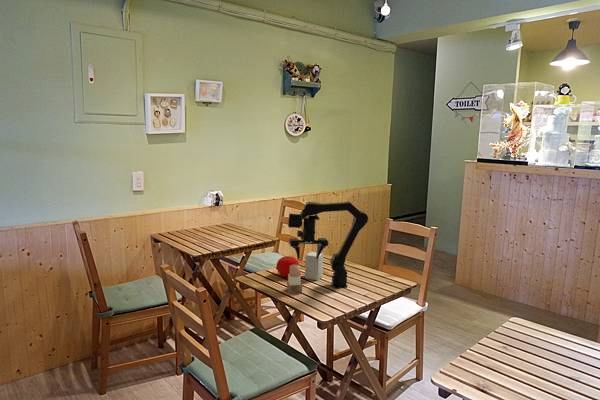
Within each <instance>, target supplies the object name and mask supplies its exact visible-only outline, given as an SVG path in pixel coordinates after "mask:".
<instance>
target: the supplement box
mask: <svg viewBox="0 0 600 400" xmlns="http://www.w3.org/2000/svg"><path fill="white" fill-rule="evenodd" d="M316 254H317V251H316V252H315V251H310V252H307V254H305V263H304V264H305V265H304V272H305V273H304V278H305V279H308V280H314V281H318V280H320V279H321V278H323V270H324V253H322V252H321V253H320V255H319V257H318V259H316Z"/></svg>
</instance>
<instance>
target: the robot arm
mask: <svg viewBox="0 0 600 400" xmlns="http://www.w3.org/2000/svg"><path fill="white" fill-rule="evenodd" d="M344 211H348V213H350V214H351V215H352V216H353V218H352V222H351V228H350V229H349V231H348V233H347V235H346V237H345V239H344V241H343V242H342V245H341V246H340V248H339V250H338V252H336V253H335V252H333V254H332V256H331V258H329V260H330V261H329V265H330V268H331V270H332V271H333V273H332V275H331V285H332V286H333V287H334V288H340V289H341V288H348V285H347V284H348V283H347V282H348V281H347V280H348V270H347V269H346V267H345V264H346V258H347V256H348V253H349V252H350V250H351V248H352V246H353V243H354V242H355V240H356V238H357V237H358V235H359V232H360V231H361V230H362V229H363V228H364V227H365V226H366V224H367V223H368V221H369V216H368V214H366V212H365V211H363V210H359V209H358V208H357V207H356V206H354V205H353V203H351V201H344V202H343V201H342V202H328V203H323V202H315V201H307V202H306V203H305V204H304V207H303V209H302V210H301V212H300V213H291V212H290V213H288V221H287V222H288V225H287V226H288V228H293V229H296V228H297V229H300V228H301V227H302V226H303V228H302V230H301V229H300V230H297V233H296V235H297V236H296V237H292V238H289V239H288V245H289V246H290V247H292V248H293V249H294V251H295V252H296V256H297V260H298V261H299V260H300V245H316V248H317V249H316V253H317V254H316V259H318V257H319V255H320V253H322V251H323V250H324V248H325V249H326V247H328V246H329V240H328V239H327V238H325V237H318V239H315V237H316V221H319V220H320V217H319V216H318V215H319V214H320V213H328V212H330V213H331V212H344ZM298 238H300V239H298Z"/></svg>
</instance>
